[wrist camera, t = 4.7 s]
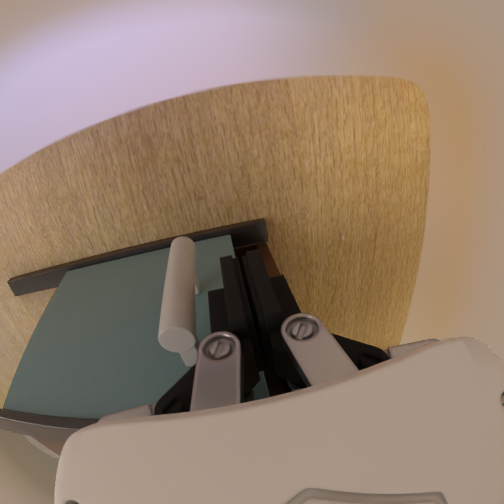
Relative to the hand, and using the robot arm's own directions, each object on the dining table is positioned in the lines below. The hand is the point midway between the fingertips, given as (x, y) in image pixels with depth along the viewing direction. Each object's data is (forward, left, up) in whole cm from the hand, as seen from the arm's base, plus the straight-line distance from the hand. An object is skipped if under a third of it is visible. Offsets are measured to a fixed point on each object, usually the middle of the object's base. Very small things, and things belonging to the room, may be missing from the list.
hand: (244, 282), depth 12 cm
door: (+1, -7, -9) cm, 12 cm away
